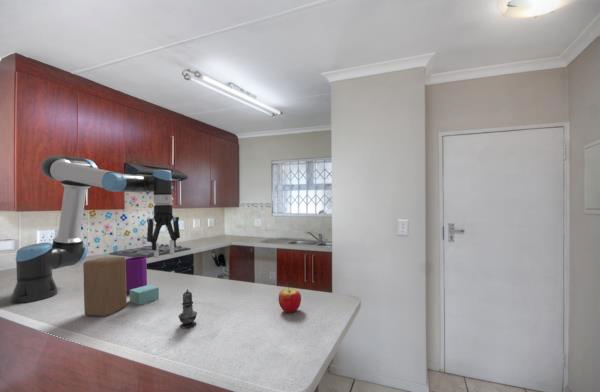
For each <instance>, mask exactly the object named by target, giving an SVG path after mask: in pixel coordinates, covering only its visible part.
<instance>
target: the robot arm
mask: <svg viewBox="0 0 600 392" xmlns="http://www.w3.org/2000/svg"><path fill="white" fill-rule="evenodd" d="M40 170H41V173H42V174H43V176H45V177H46V178H47V179H50V180H53V181H60V184H61V186H63V188H64V189H63V196H62V203H61V211H60V218H59V225H58V226H59V227H58V233H57V236H55V237H54V238H53V239H52V243H51V242H39V243H33V244H28V245H26V246H22V247H20V248H19V249H17V251H16V256H15V262H16V265H15V266H16V283H15V286H14V289H13V291H12V295H11V297H10V298H11V303H13V304H23V303H31V302H36V301H39V300H40V301H41V300H44V299H45V300H46V299H48V298H51V297H53V296H56V295H57V294H59V292H58V286H57V285H56V282H55V280H54V278H53V270H56V269H60V268H65V267H71V266H73V265H74V266H75V265H77V264H79V263H81V262H83V261H84V260H85V259H86V257H87V255H88V252H89V251H88V247H87V244H86V242H85V241H84V238H83V237H82V236H81V231H82V230H81V229H82V224H83V219H84V218H83V217H84V210H85V204H86V203H85V202H86V197H87V196H86V195H87V190H88V189H90V188H91V187H92V186H94V187H98V188H101V189H102V188H103V189H104V190H105V191H107V192H111V193H112V192H114V193H119V192H120V193H121V192H126V193H127V192H130V193H151V192H152V193H153V217H152V218H147V219H146V222H147V231H146V232H147V233H146V242H148V243H151V250H152V251H153V257H154V258H156V259H158V258H160V256H159V255H160V253H159V252H160V251H159V249H160V248H159V247H160V246H159V242H157V241H158V239H159V235H160V232H161V228H162V227H164V226H165V227H166V229H167V231H168V234H169V237H170V240H169V255H170V256H175V248H176V246H177V241H178V239H180V238H181V234H180V227H179V226H180V225H179V224H180V223H179V221H180V217H179V216H174V215H173V205H172V204H173V191H172V190H173V179H172V178H173V177H172V172H171V170H168V169H154V170H153V172H152V174H150V175H149V174H148V175H147V174H146V175H143V174H142V175H140V174H131V173H129V174H128V173H120V172H116V171H112V170H111V171H110V170H106V169H100V168H99V167H98V165H96V163H95V162H94V161H93V160H91V159H89V158H83V157H76V156H75V157H74V156H68V155H67V156H66V155H65V156H64V155H59V154H58V155H51V156H48V157H46V158H45V159H43V160H42V162H41V164H40ZM154 222H155V225H154ZM154 226H155V228H154Z"/></svg>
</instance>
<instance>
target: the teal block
mask: <svg viewBox="0 0 600 392" xmlns="http://www.w3.org/2000/svg"><path fill="white" fill-rule="evenodd" d="M159 296H160V291H159V287H158V286H155V285H151V284H147V285H146V286H142V287H139V288H135V289H131V290H130V293H129V302H131V303H133V304H136V305H138V306H141V305H144V304H147V303H150V302H153V301H156V300H159V299H160V297H159Z"/></svg>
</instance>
